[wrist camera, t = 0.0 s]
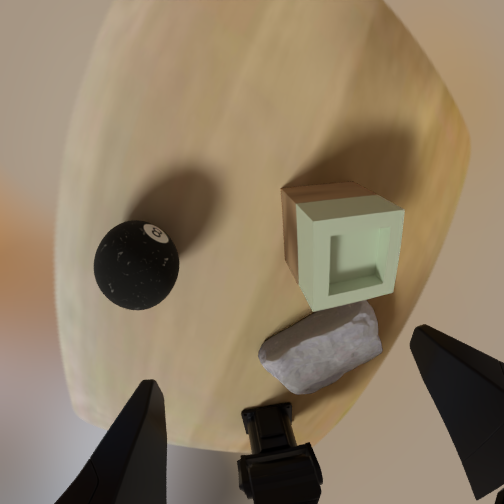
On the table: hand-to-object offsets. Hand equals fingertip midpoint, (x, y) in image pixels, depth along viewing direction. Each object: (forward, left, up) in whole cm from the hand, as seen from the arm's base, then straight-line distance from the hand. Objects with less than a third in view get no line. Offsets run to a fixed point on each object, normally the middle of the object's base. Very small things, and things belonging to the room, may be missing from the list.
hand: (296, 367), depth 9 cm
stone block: (-15, -7, -15) cm, 23 cm away
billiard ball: (-1, +8, -15) cm, 17 cm away
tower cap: (-1, -6, -11) cm, 13 cm away
